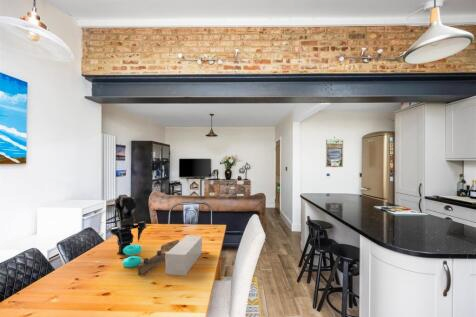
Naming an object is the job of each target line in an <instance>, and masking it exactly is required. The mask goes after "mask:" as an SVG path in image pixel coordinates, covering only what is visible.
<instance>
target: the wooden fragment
mask: <svg viewBox="0 0 476 317" xmlns="http://www.w3.org/2000/svg"><path fill="white" fill-rule="evenodd" d="M180 241H181V240H180V239H176V240H172V241H169V242H167V243H164V244H162V245H161V246H160V250H161V252H165V253H167V252H168V251H169V250H171V249H172V248H173V247H174V246H175V245H176V244H177V243H179V242H180Z"/></svg>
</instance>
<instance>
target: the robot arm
mask: <svg viewBox="0 0 476 317" xmlns="http://www.w3.org/2000/svg"><path fill="white" fill-rule="evenodd" d="M136 207H137V201H136V200H135V199H134V197H133V196H128V195H127V194H119V195H118V198H116V199H115V200H114V209H115V211H116V213H118V218H119V226H120V227H119V226H116V227H115V226H114V227H111V228H110V234H111V235H112V236H115V237H117V238H116V243H117V246H118V252H116V255H122V256H126V254H124V253H123V249H124V248H125V247H126V246H129V245H131V244H133V242H134V234H133V233H132V230H134V229H137V241H138V242H140V238H141V236H142V233H143V231H144V230H145V229H147V223H146V221H143V220H142V221H138V222H137V224H135V222H136V219H135V216H134V211H135V209H136Z"/></svg>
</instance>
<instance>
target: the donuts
mask: <svg viewBox="0 0 476 317" xmlns="http://www.w3.org/2000/svg"><path fill="white" fill-rule="evenodd" d="M142 250H143V247H142V246H141V245H140V244H130V245H129V246H126V247H125V248H124V249H123V253H124V254H126V255H127V256H129V257H127V258H124V259H123V261H122V266H124V267H125V268H134V267H138V265H140V264H141V263H143V260H142V258H141V257H140V256H136V255H138V254H140V253H141V252H142ZM126 255H125V256H126Z"/></svg>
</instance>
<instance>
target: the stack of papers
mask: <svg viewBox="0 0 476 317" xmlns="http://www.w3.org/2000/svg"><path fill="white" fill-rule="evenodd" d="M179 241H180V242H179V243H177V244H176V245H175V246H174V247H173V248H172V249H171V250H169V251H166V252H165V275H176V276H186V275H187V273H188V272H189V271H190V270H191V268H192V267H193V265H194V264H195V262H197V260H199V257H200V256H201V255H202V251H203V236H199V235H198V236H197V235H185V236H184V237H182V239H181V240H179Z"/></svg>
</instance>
